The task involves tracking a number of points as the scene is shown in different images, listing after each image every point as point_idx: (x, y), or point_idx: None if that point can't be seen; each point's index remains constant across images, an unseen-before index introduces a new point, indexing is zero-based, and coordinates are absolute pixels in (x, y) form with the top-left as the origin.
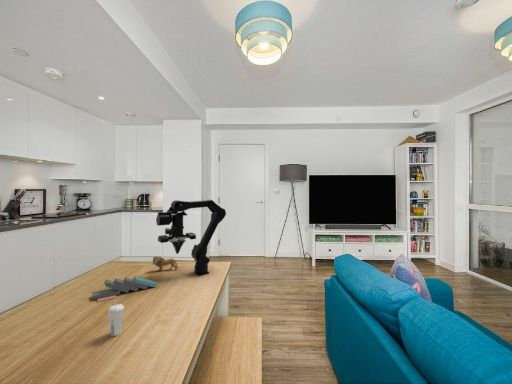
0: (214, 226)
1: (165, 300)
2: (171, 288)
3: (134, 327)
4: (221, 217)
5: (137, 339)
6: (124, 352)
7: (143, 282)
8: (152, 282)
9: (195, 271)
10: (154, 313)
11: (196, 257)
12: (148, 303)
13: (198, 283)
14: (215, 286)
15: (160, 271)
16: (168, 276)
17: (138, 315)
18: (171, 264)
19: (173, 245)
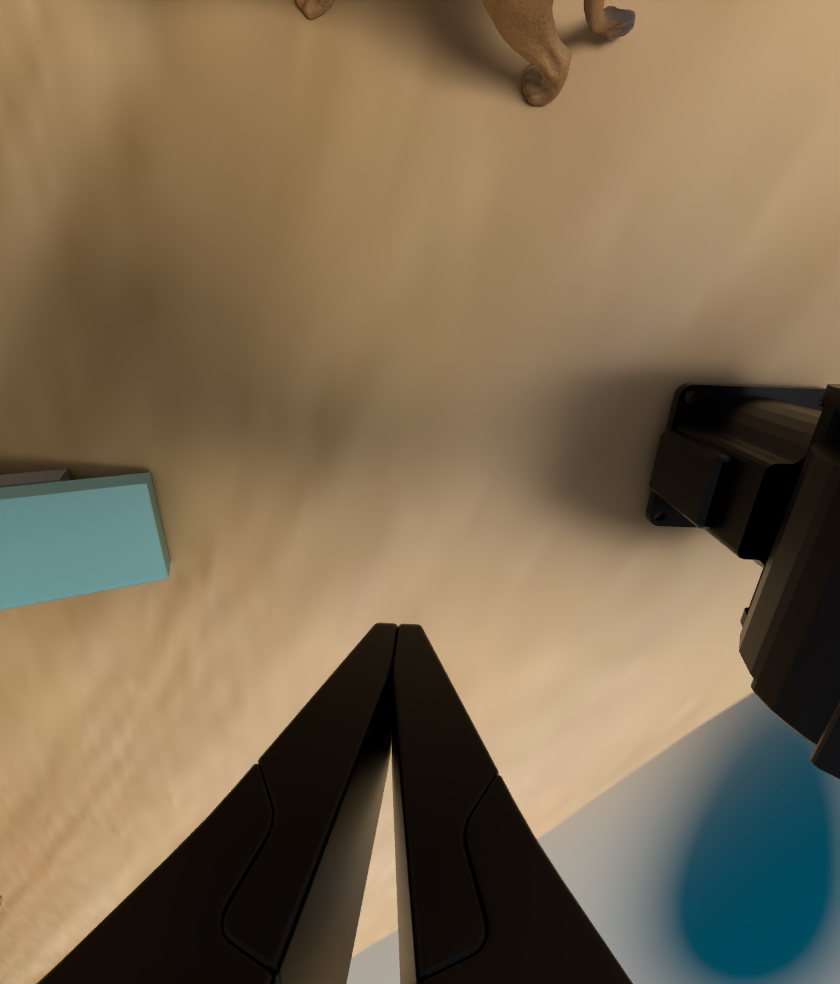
0: None
1: (209, 779)
2: (290, 648)
3: (50, 896)
4: None
5: (68, 949)
6: (33, 973)
7: (5, 602)
8: (114, 564)
9: (662, 472)
10: (135, 855)
11: (755, 685)
12: (107, 761)
13: (520, 678)
14: (585, 782)
15: (304, 10)
16: (355, 326)
17: (59, 835)
18: (486, 6)
19: (168, 887)
